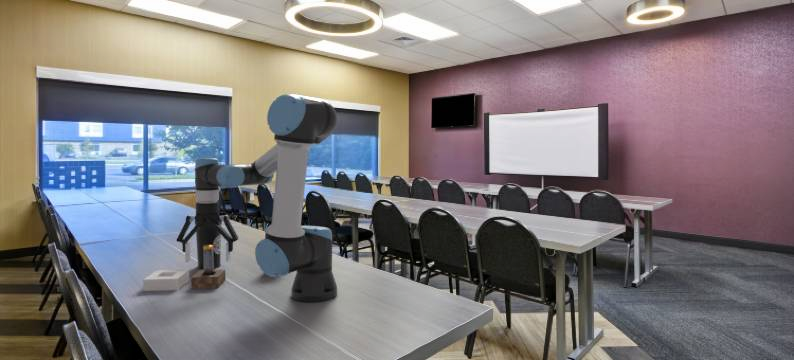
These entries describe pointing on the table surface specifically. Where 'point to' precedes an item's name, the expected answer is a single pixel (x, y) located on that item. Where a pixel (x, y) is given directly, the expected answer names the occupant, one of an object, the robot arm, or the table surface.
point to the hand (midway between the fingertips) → (208, 260)
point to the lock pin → (208, 260)
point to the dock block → (166, 280)
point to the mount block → (208, 279)
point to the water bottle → (208, 238)
